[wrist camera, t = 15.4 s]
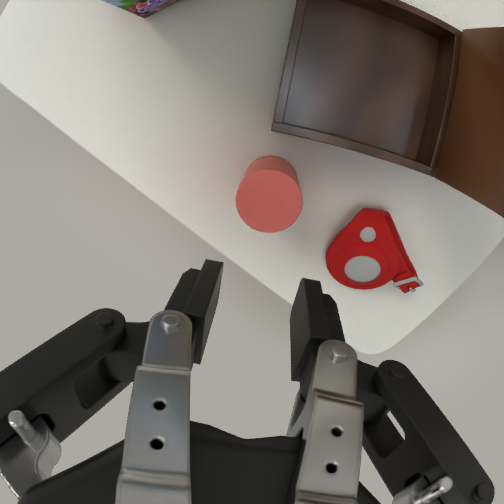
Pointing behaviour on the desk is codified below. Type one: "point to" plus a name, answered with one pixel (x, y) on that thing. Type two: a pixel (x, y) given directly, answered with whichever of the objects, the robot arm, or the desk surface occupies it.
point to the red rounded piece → (371, 254)
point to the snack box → (142, 6)
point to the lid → (477, 121)
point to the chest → (370, 79)
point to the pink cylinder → (269, 195)
